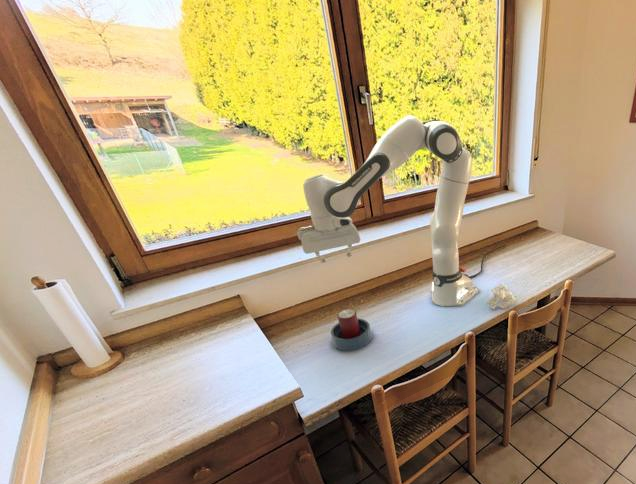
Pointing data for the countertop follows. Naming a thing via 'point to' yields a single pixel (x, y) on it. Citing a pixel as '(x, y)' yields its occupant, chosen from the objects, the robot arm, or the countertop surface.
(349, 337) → the can
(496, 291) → the white irregular lump
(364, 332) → the bowl
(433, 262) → the robot arm
